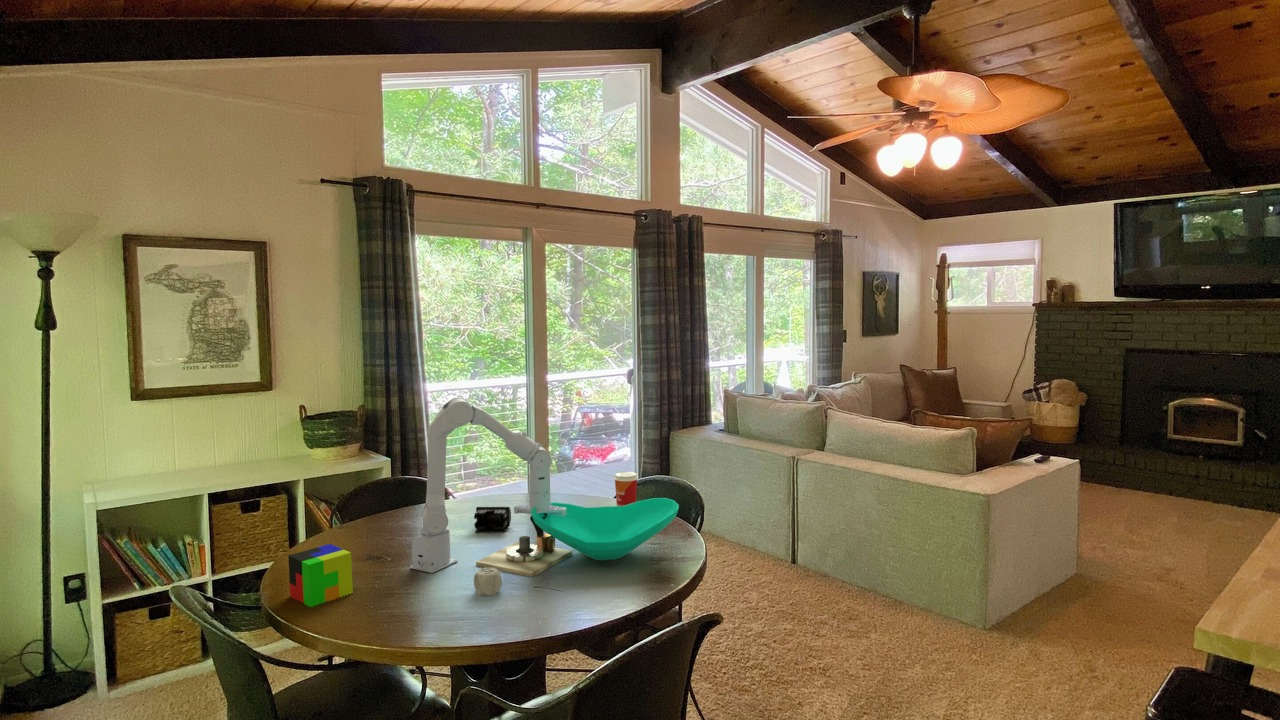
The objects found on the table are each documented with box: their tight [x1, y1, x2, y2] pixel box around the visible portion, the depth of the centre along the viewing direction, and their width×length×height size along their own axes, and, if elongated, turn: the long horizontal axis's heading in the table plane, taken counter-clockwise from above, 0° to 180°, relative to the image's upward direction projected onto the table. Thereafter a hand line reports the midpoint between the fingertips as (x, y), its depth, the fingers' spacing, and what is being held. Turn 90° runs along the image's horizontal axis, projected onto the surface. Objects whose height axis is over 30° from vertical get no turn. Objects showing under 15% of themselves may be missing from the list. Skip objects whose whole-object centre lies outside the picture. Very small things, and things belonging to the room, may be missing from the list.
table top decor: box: [530, 497, 680, 561], centre depth 190 cm, size 40×28×13 cm
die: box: [473, 567, 503, 597], centre depth 167 cm, size 5×5×5 cm
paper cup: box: [613, 471, 639, 506], centre depth 224 cm, size 8×8×14 cm
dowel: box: [547, 538, 553, 553], centre depth 191 cm, size 2×2×4 cm
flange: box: [506, 533, 556, 562], centre depth 189 cm, size 14×10×4 cm
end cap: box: [473, 506, 512, 534], centre depth 214 cm, size 10×7×7 cm
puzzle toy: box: [288, 543, 354, 608], centre depth 166 cm, size 10×10×10 cm
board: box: [475, 535, 573, 578], centre depth 188 cm, size 18×18×6 cm
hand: (540, 540), depth 194 cm, fingers closed, pressing on flange
